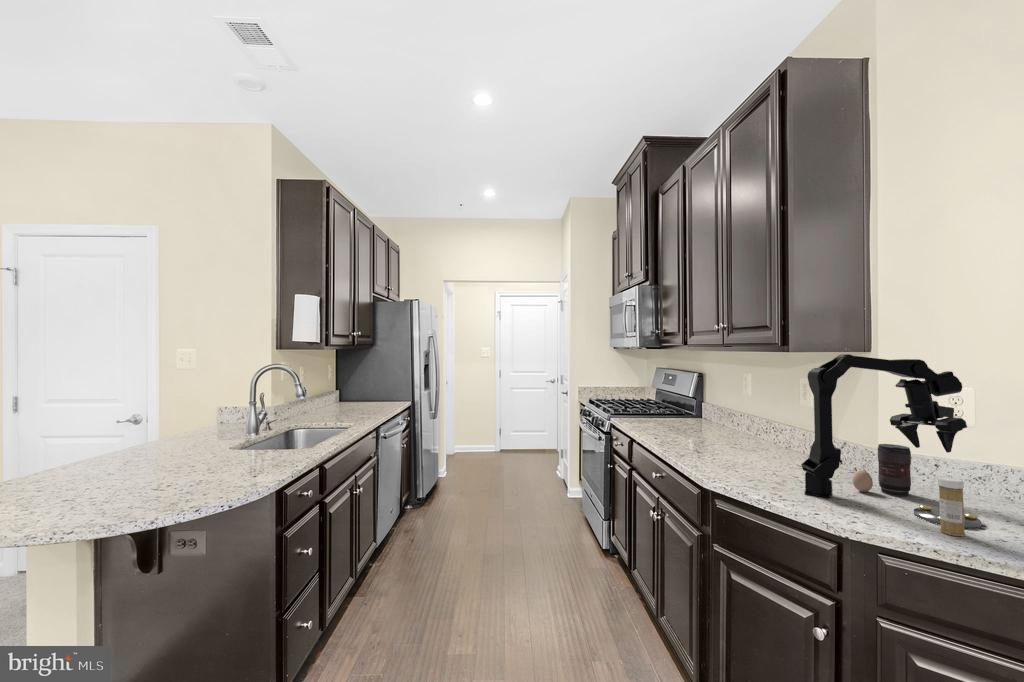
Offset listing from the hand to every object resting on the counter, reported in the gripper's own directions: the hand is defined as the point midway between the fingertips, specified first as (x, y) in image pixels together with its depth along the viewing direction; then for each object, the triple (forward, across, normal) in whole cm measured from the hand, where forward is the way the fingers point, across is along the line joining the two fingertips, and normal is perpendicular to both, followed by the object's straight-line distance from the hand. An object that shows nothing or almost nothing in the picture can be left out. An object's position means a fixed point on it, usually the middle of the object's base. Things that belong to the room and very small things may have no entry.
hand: (932, 449), depth 138 cm
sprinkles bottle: (+12, -23, +25) cm, 36 cm away
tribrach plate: (+13, -14, +17) cm, 26 cm away
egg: (+12, +10, +17) cm, 23 cm away
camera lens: (+13, +7, +9) cm, 18 cm away
